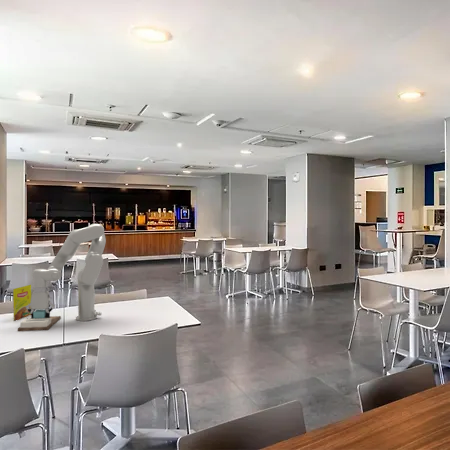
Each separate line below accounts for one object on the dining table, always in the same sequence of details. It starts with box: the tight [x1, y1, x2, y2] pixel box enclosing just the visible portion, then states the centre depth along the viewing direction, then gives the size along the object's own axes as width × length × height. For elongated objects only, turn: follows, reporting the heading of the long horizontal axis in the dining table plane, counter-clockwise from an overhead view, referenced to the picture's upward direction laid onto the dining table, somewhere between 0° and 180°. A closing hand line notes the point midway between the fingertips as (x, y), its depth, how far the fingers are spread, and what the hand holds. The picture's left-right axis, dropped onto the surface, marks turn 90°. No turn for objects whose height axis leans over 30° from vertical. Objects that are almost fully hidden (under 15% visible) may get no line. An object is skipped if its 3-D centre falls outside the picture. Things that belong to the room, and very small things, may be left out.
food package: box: [12, 284, 32, 322], centre depth 235 cm, size 15×1×20 cm, turn 168°
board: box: [17, 315, 62, 332], centre depth 222 cm, size 16×24×2 cm, turn 8°
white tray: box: [19, 317, 51, 328], centre depth 215 cm, size 14×8×3 cm, turn 98°
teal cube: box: [33, 309, 47, 318], centre depth 222 cm, size 6×6×6 cm
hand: (40, 319), depth 222 cm, fingers open, 7 cm apart
